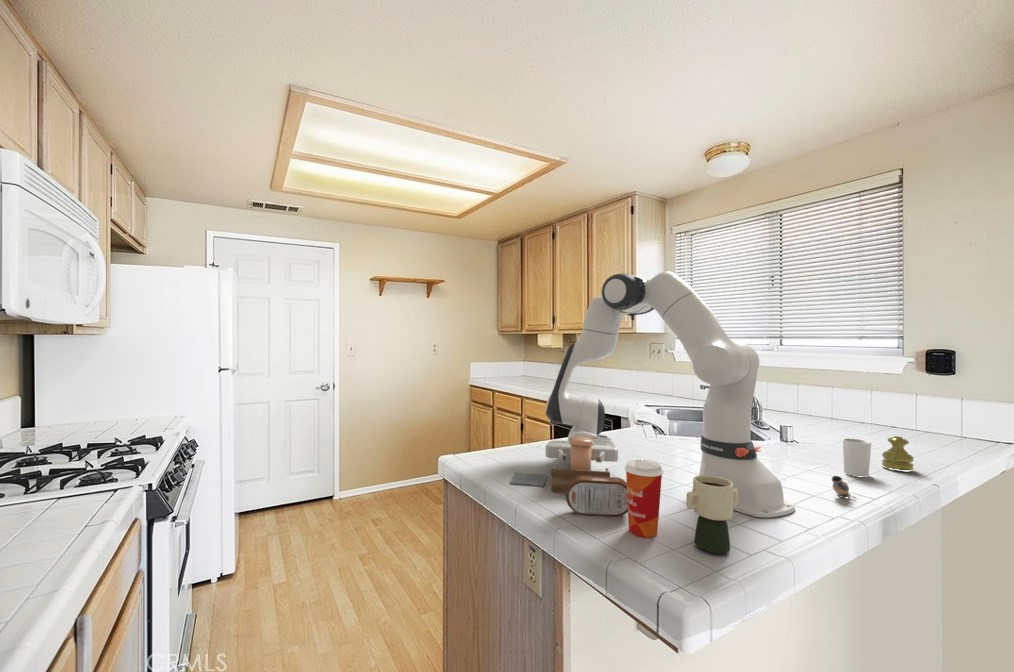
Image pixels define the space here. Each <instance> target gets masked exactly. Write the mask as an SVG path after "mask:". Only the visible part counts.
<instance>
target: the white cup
mask: <svg viewBox="0 0 1014 672" xmlns="http://www.w3.org/2000/svg"><path fill="white" fill-rule="evenodd" d="M871 451H872V441H869V440H865V439H864V438H863V439H862V438H855V437H844V438H842V453H843V455H842V456H843V473H844V472H845V473H847V474H850V475H855V476H868V475H869V476H870V466H871V465H870V464H871V463H870V462H871ZM845 473H844V474H845ZM847 474H846V475H847ZM850 475H849V476H850Z"/></svg>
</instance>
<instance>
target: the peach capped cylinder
mask: <svg viewBox="0 0 1014 672" xmlns="http://www.w3.org/2000/svg"><path fill="white" fill-rule="evenodd" d="M569 444H570V445H571V459H570V469H574V470H589V471H592V460H591V446H592V445H593V439H591V438H588V437H571V438H569Z"/></svg>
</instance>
